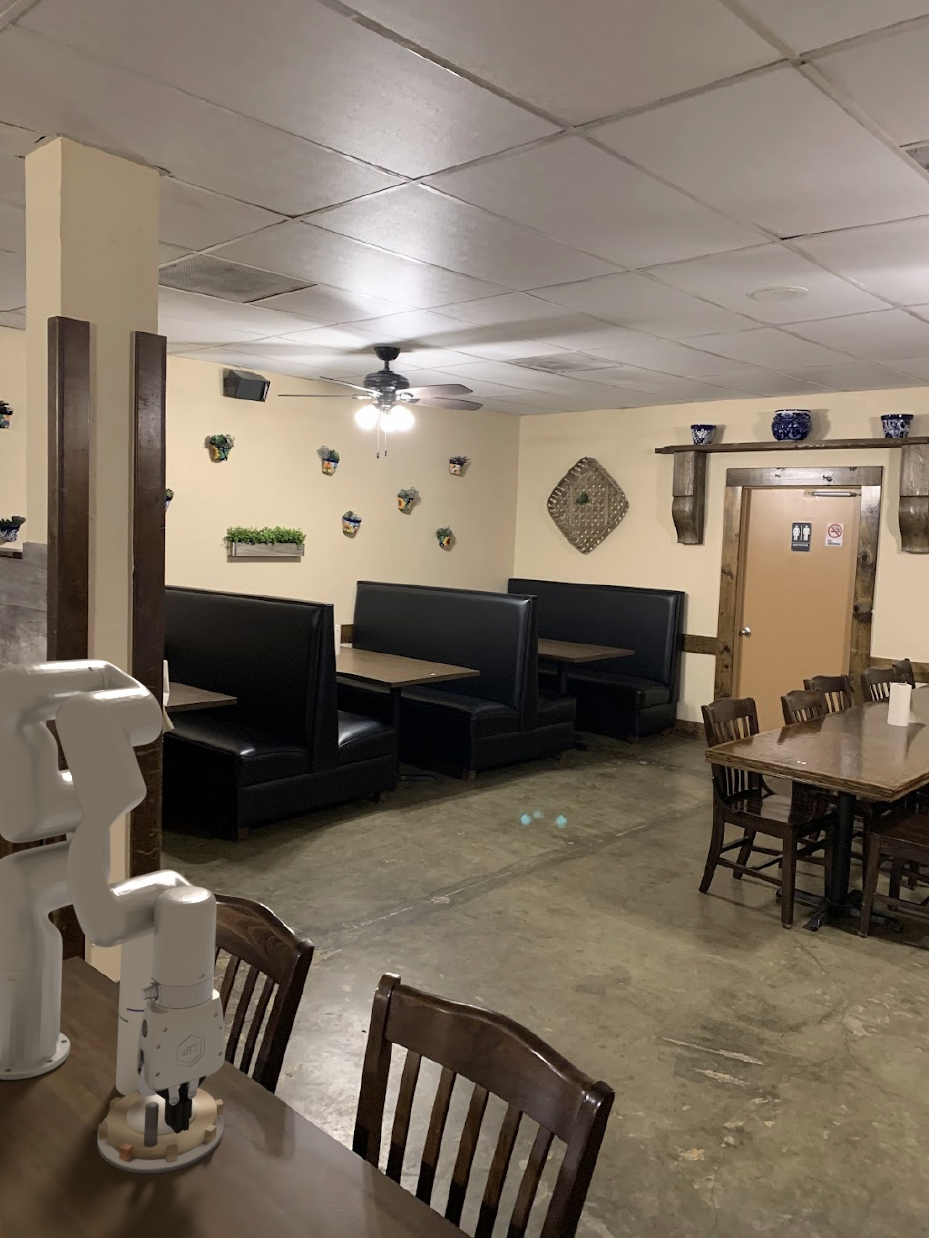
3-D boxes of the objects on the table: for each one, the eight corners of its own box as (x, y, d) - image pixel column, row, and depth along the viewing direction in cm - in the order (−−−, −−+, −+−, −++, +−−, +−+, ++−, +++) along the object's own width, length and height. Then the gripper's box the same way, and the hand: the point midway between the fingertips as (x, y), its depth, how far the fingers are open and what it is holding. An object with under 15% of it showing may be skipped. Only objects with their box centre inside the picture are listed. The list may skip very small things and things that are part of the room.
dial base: (70, 1144, 122) (70, 1137, 122) (162, 1085, 136) (162, 1079, 136) (160, 1190, 115) (161, 1182, 115) (248, 1123, 129) (248, 1116, 129)
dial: (120, 1090, 132) (122, 1046, 132) (229, 1092, 134) (231, 1048, 133) (85, 1160, 117) (87, 1110, 117) (208, 1162, 119) (210, 1112, 118)
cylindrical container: (151, 1100, 133) (158, 928, 131) (105, 1091, 134) (112, 921, 132) (177, 1073, 140) (184, 909, 138) (133, 1065, 141) (139, 902, 139)
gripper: (136, 1016, 111) (131, 1164, 113) (250, 983, 121) (244, 1120, 123) (112, 991, 117) (108, 1133, 118) (223, 962, 127) (218, 1093, 128)
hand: (177, 1126), depth 120 cm, fingers closed
